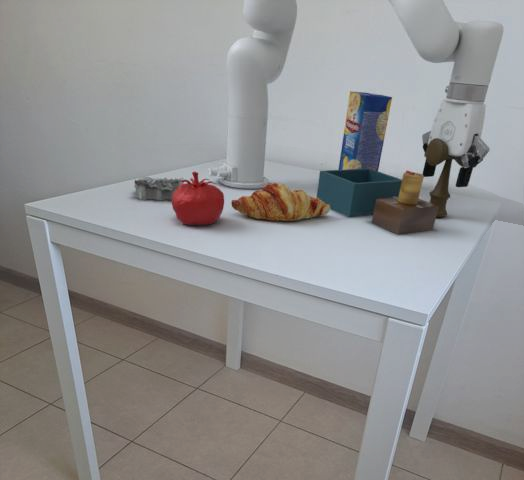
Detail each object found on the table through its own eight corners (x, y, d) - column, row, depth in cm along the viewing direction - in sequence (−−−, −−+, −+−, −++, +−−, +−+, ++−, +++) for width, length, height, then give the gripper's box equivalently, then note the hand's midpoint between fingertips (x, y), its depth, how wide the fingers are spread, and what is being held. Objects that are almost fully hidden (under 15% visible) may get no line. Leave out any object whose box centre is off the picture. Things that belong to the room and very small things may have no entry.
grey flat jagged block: (133, 200, 104) (131, 180, 102) (138, 191, 111) (137, 172, 108) (183, 202, 105) (182, 183, 103) (185, 193, 112) (185, 175, 109)
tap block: (397, 234, 97) (403, 208, 94) (371, 222, 103) (375, 197, 100) (433, 230, 101) (439, 205, 99) (405, 218, 107) (411, 194, 104)
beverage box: (359, 180, 137) (374, 93, 126) (374, 190, 128) (392, 97, 117) (336, 179, 136) (350, 91, 124) (350, 189, 127) (365, 95, 115)
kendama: (460, 218, 110) (487, 123, 100) (424, 219, 107) (449, 121, 97) (443, 211, 115) (468, 118, 105) (409, 212, 112) (431, 117, 102)
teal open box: (349, 217, 105) (354, 183, 101) (315, 201, 114) (319, 170, 110) (398, 211, 112) (405, 180, 108) (363, 197, 121) (369, 168, 117)
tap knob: (421, 204, 99) (428, 174, 96) (407, 205, 97) (414, 175, 94) (407, 198, 102) (413, 170, 99) (393, 200, 100) (399, 171, 97)
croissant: (321, 228, 108) (321, 191, 107) (339, 219, 98) (339, 179, 98) (228, 226, 103) (226, 187, 102) (237, 216, 93) (236, 174, 92)
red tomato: (223, 230, 91) (225, 179, 86) (170, 228, 90) (168, 176, 85) (223, 215, 99) (224, 167, 94) (174, 212, 98) (172, 164, 93)
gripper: (421, 89, 103) (404, 173, 112) (489, 98, 90) (463, 192, 99) (446, 91, 106) (427, 172, 115) (514, 99, 94) (487, 190, 103)
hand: (444, 181), depth 107 cm, fingers open, 9 cm apart
